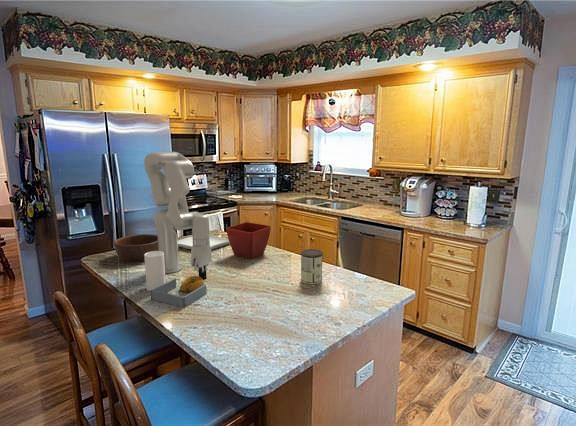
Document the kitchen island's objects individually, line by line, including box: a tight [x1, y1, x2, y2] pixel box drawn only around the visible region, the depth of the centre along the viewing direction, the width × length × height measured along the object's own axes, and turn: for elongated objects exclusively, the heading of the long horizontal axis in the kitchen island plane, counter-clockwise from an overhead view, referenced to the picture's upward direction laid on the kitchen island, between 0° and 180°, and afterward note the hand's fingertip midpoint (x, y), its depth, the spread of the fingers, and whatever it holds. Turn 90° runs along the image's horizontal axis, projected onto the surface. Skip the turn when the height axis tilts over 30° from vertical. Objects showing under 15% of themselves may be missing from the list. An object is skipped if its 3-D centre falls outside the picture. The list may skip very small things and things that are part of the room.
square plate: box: [177, 234, 230, 251], centre depth 233 cm, size 27×27×4 cm
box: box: [149, 278, 208, 308], centre depth 157 cm, size 18×15×4 cm
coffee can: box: [300, 248, 324, 285], centre depth 175 cm, size 10×10×14 cm
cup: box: [144, 251, 167, 292], centre depth 165 cm, size 8×8×16 cm
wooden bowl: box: [113, 233, 159, 263], centre depth 209 cm, size 25×25×10 cm
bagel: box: [179, 275, 205, 293], centre depth 165 cm, size 10×11×5 cm
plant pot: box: [225, 221, 272, 260], centre depth 213 cm, size 19×19×17 cm
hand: (202, 279), depth 171 cm, fingers closed
